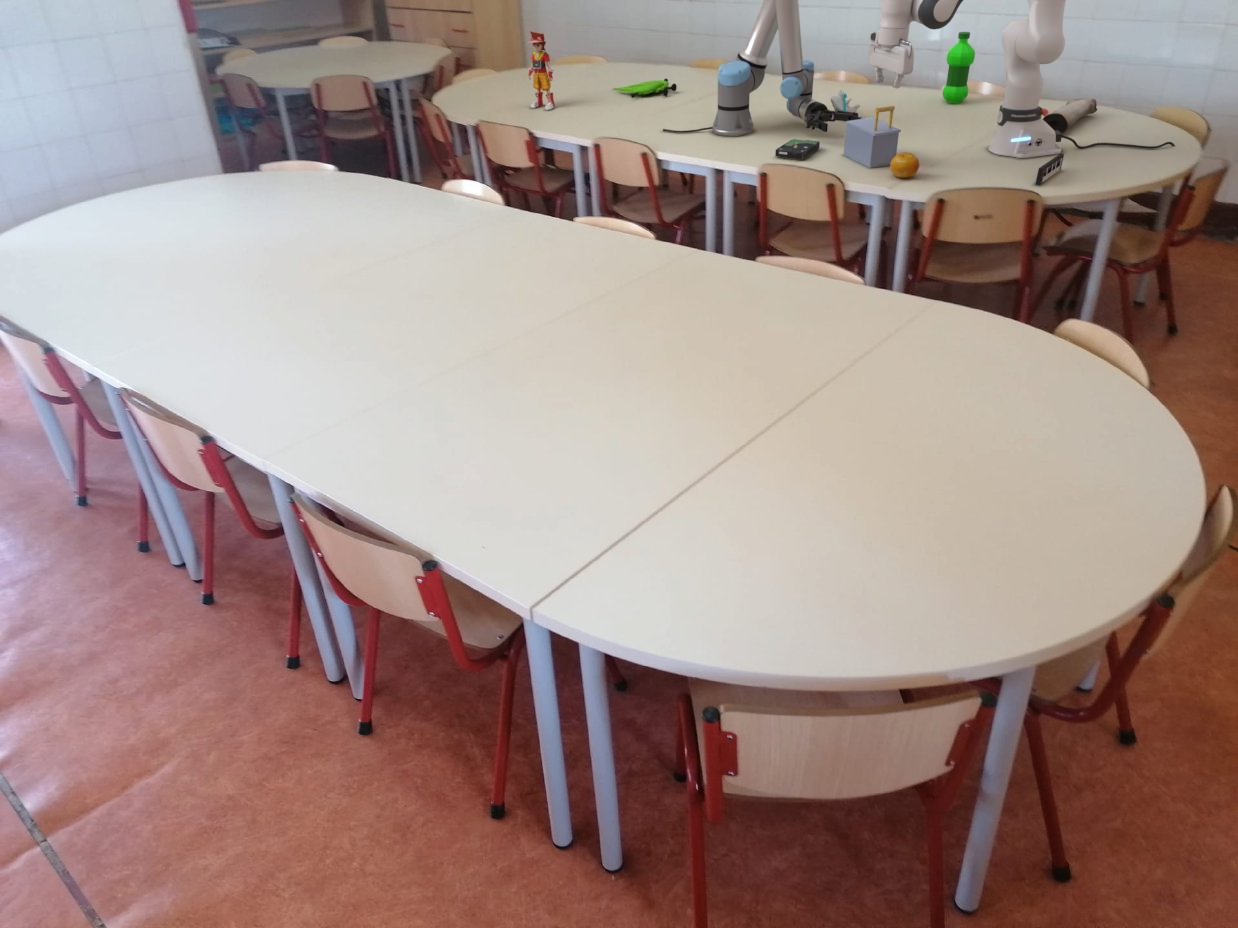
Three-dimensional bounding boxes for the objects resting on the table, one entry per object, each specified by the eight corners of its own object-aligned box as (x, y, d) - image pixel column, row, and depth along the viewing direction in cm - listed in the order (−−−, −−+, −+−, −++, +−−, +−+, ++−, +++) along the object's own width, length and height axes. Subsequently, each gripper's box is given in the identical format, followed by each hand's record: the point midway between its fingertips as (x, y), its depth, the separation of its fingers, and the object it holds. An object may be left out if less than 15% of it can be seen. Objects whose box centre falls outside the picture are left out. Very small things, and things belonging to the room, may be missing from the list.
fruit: (884, 168, 279) (900, 145, 276) (886, 170, 287) (902, 148, 284) (906, 183, 278) (923, 160, 275) (908, 185, 286) (924, 162, 283)
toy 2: (686, 85, 398) (631, 84, 414) (685, 72, 395) (629, 72, 411) (651, 104, 381) (596, 103, 397) (650, 92, 378) (594, 91, 394)
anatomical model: (825, 90, 346) (851, 83, 346) (828, 117, 352) (853, 110, 352) (836, 99, 334) (863, 92, 333) (839, 127, 340) (865, 120, 339)
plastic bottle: (973, 101, 354) (984, 32, 339) (955, 106, 349) (966, 36, 335) (952, 97, 361) (962, 29, 346) (934, 102, 356) (944, 33, 342)
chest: (895, 164, 294) (899, 132, 288) (869, 168, 292) (873, 135, 286) (867, 151, 307) (871, 120, 302) (843, 155, 305) (846, 123, 299)
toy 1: (525, 109, 381) (517, 32, 364) (534, 104, 388) (527, 28, 371) (550, 110, 377) (543, 32, 360) (559, 105, 384) (553, 28, 367)
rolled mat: (1064, 103, 333) (1089, 85, 324) (1077, 124, 333) (1102, 107, 325) (1032, 125, 315) (1057, 107, 307) (1046, 147, 316) (1072, 129, 307)
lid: (900, 132, 287) (903, 107, 283) (874, 136, 285) (877, 111, 281) (871, 120, 301) (873, 96, 297) (846, 123, 299) (848, 99, 295)
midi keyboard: (1039, 185, 269) (1043, 168, 266) (1035, 184, 270) (1038, 168, 267) (1060, 170, 279) (1064, 154, 277) (1056, 169, 280) (1060, 153, 277)
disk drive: (803, 161, 302) (819, 149, 312) (803, 153, 300) (820, 140, 310) (774, 158, 306) (791, 146, 316) (775, 149, 305) (792, 137, 315)
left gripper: (843, 118, 332) (874, 131, 315) (782, 127, 326) (811, 141, 309) (845, 97, 328) (876, 109, 311) (783, 106, 322) (812, 119, 305)
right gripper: (921, 41, 265) (915, 90, 273) (884, 31, 282) (879, 78, 290) (903, 43, 264) (897, 93, 272) (866, 33, 280) (862, 80, 288)
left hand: (844, 125), depth 310 cm, fingers open, 13 cm apart
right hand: (887, 85), depth 281 cm, fingers open, 8 cm apart
